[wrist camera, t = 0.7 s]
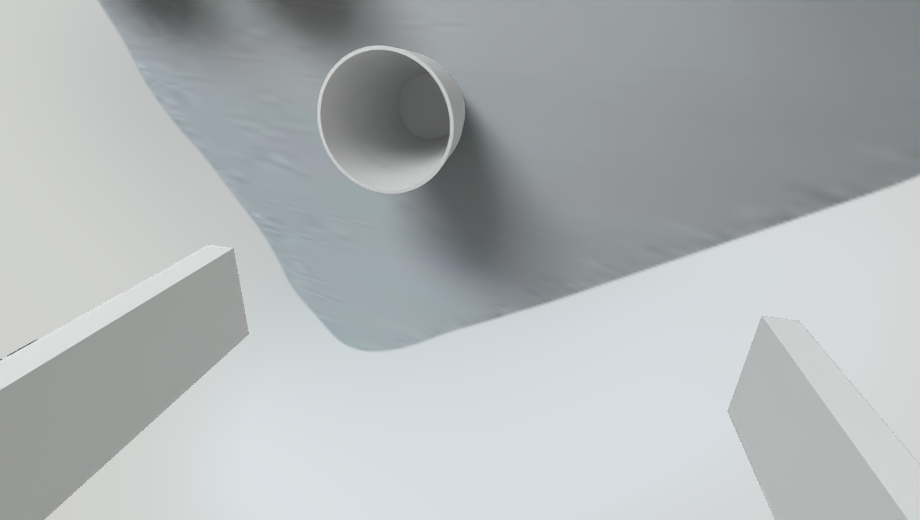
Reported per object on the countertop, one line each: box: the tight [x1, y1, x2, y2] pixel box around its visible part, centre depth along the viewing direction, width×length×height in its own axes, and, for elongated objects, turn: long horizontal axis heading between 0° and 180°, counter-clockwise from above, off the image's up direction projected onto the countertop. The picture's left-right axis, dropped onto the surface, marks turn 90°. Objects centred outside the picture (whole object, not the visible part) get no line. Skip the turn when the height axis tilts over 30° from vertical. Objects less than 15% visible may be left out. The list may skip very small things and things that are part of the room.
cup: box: [317, 46, 465, 194], centre depth 31 cm, size 8×8×10 cm
